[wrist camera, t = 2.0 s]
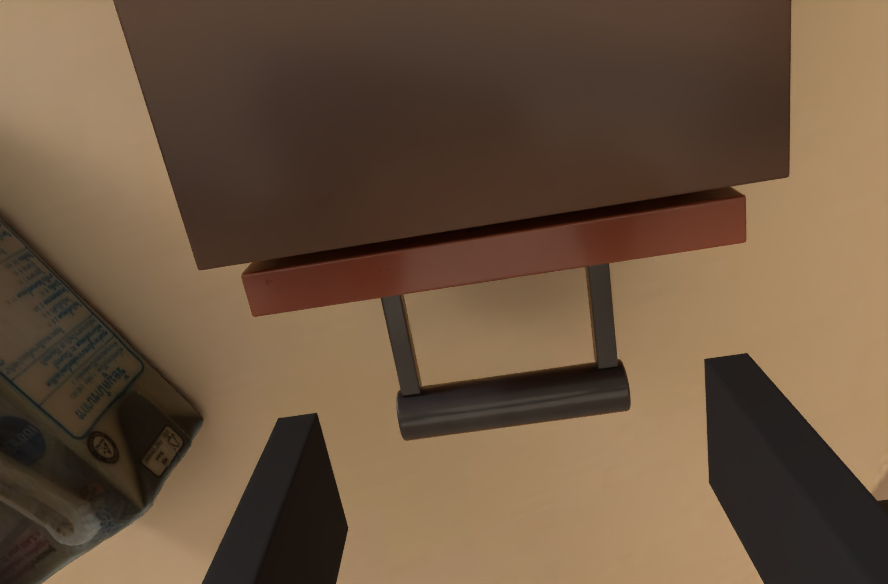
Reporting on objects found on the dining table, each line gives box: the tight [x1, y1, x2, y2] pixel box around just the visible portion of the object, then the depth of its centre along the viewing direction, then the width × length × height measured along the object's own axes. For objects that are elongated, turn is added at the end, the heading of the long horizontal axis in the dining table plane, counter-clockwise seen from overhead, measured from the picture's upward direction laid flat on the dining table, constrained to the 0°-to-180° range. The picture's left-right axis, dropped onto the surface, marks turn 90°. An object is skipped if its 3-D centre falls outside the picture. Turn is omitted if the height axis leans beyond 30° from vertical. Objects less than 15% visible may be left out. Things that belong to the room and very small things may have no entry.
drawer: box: [241, 187, 746, 441], centre depth 19 cm, size 20×12×7 cm, turn 10°
